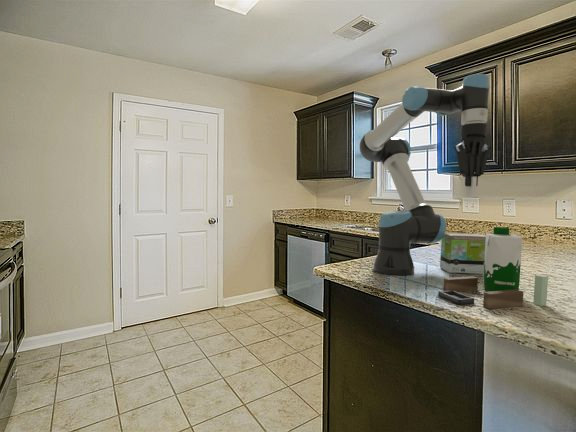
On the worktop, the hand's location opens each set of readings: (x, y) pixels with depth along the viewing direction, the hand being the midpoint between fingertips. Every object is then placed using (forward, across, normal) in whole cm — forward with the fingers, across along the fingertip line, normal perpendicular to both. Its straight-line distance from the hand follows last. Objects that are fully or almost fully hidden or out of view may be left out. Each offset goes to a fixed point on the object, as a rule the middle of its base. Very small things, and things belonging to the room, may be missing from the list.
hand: (470, 196), depth 109 cm
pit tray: (+29, -17, -14) cm, 37 cm away
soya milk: (+30, +1, -12) cm, 32 cm away
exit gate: (+29, +3, -14) cm, 33 cm away
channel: (+29, -8, -14) cm, 34 cm away
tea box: (+30, +14, +16) cm, 36 cm away
